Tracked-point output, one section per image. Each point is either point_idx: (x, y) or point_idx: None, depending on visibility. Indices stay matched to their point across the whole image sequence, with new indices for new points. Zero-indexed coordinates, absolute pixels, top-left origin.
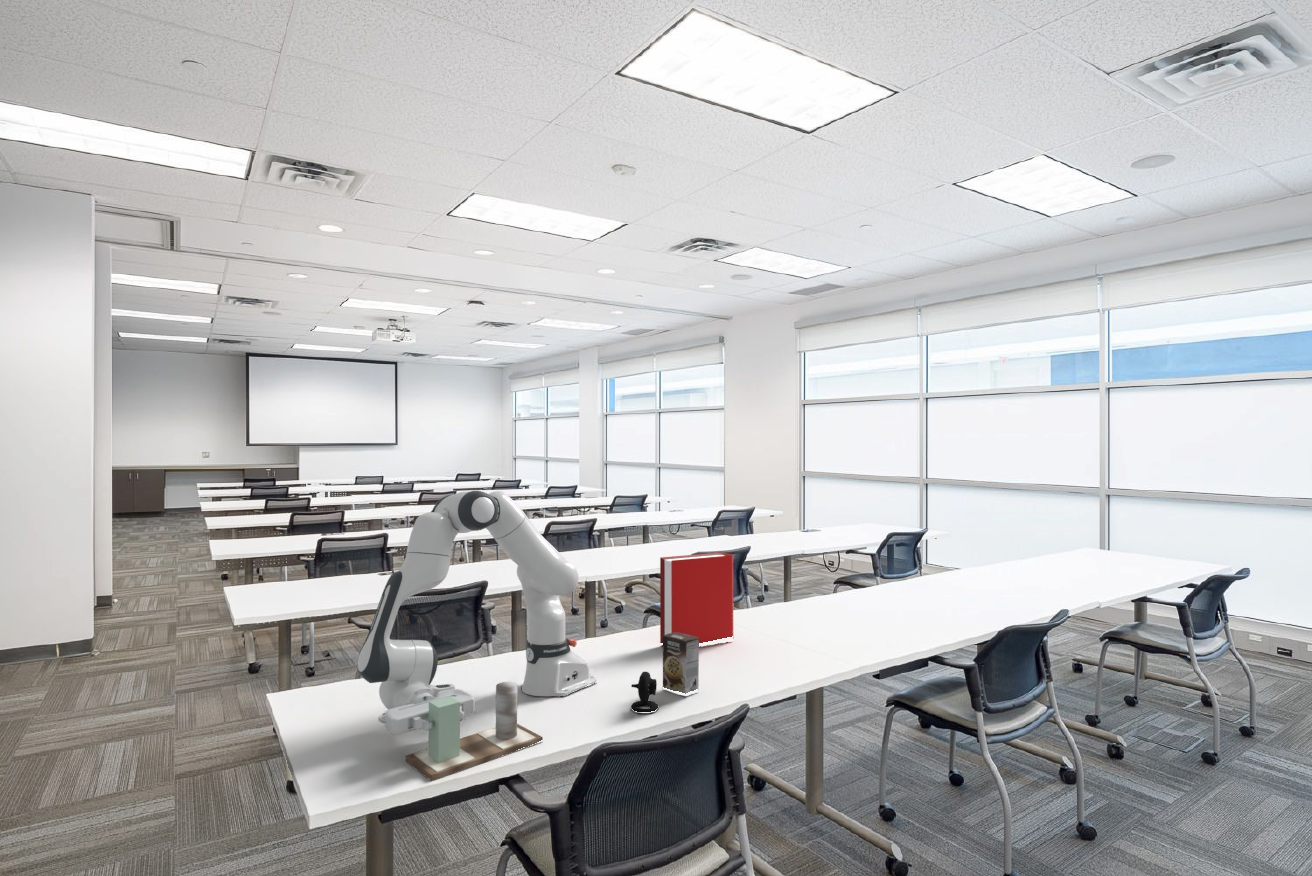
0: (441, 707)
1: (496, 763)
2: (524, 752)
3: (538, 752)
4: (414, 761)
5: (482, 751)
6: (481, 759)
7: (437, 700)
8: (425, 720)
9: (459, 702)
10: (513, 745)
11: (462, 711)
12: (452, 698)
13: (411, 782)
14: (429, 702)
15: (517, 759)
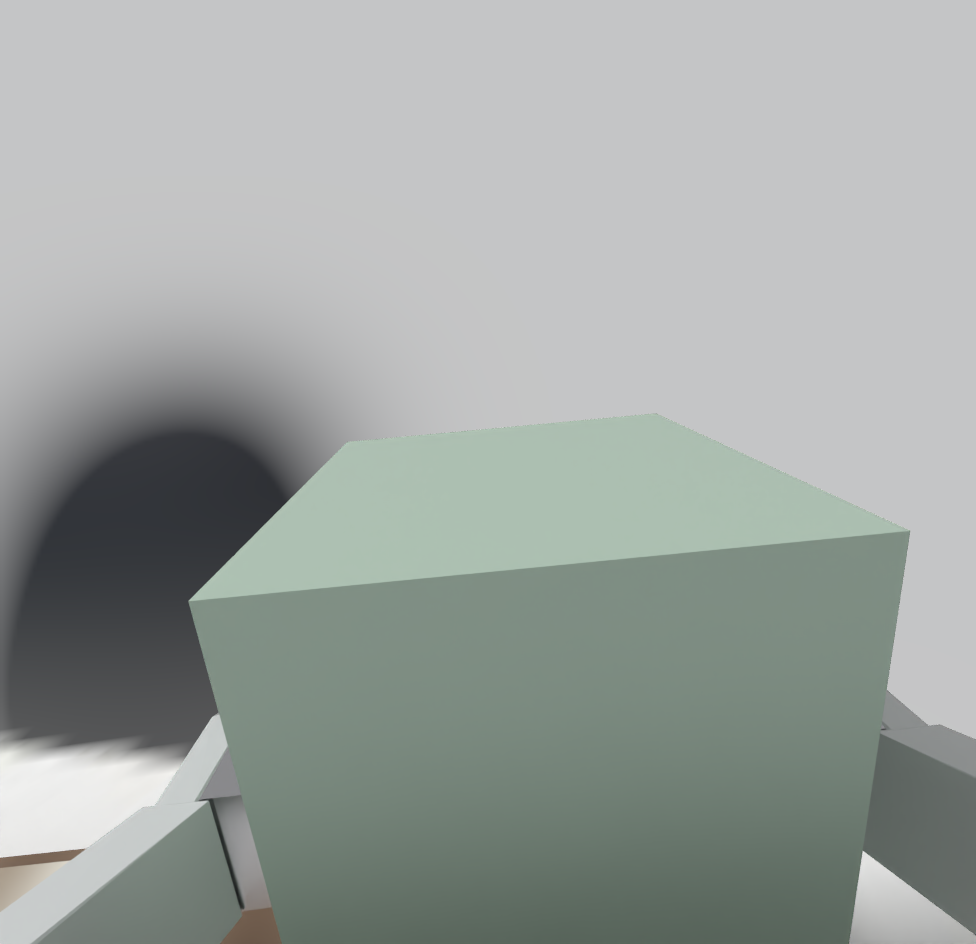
0: (618, 423)
1: None
2: (43, 838)
3: (26, 788)
4: None
5: (226, 939)
6: None
7: (632, 517)
8: (882, 728)
9: (355, 444)
10: (25, 868)
11: (194, 744)
12: (303, 501)
13: (885, 885)
14: (870, 519)
15: (171, 778)
